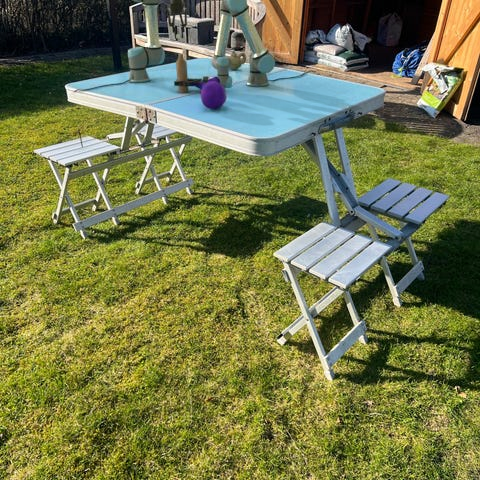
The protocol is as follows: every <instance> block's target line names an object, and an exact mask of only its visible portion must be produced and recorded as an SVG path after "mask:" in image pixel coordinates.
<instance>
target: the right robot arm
mask: <svg viewBox="0 0 480 480" xmlns="http://www.w3.org/2000/svg"><path fill="white" fill-rule="evenodd" d="M249 10H250V7H249V4H248V0H221V2H220V8H219V13H220V18H219V24H218V30H217V36H216V42H215V47H214V53H213V58H212V59H211V66H212V67H213V69H214V70H216V72H217V75H216V76H215V75H213V76H211V75H210V76H207V75H206V76H203V77H202V78H194V77H193V78H192V77H188V82H185V81H177V80H174V81H173V85H174V87H178V86H184V87H187V86H188V87H194V86H193V85H191V84H189V82H203V83H207V82H208V80H209V79H210V78H213V77H218V78H219V79H220V84H221V85H223V87H224V88H225V89H232V87H233V76H230V75H229V74H230V70H229V62H228V58H227V57H228V56H226V53H227V47H228V42H229V38H230V33H231V26H232V22H233V21H232V20H233V19H235V20H236V22H237V24H238V26H239V29H240V30H241V33H242V35H243V37H244V38H245V41H246V43H247V45H248V47H249V49H250V51H249V55H248V57H249V58H248V59H249V60H248V61H249V74H248V78H247V81H246V85H247V86H248V87H253V88H254V87H256V88H257V87H259V88H261V87H266V86H269V82H275V81H278V80H288V79H295V78H299V77H302V76H303V75H305V74H308V73H311V72H313V73H316V71H315V70H309V71H305V72H303V73H302V74H299V75H296V76H291V77H280V78H276V79H269V78H268V75H267V74H269V73H271V72H272V71H273V70H274V69H275V66H276V60H275V58H274V56H272V55H271V53H270V51H269V48H267V47H265V46H264V43H263V41H262V39H261V37H260V35H259V33H258V31H257V27H256V26H255V24H254V22H253V19H252V16H251V14H250V13H249Z"/></svg>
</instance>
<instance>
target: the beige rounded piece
mask: <svg viewBox="0 0 480 480" xmlns="http://www.w3.org/2000/svg"><path fill="white" fill-rule="evenodd" d="M226 57H227V58H228V62H229V71H238V70H239V69H240V68H241V67H242V65H244V64H245V63H246V61H247V56H246V53H245V52H243V51H242V52H239V54H237V53H236V52H235V50H232V51H231V54H230V56H226ZM241 58H242V59H241Z"/></svg>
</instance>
